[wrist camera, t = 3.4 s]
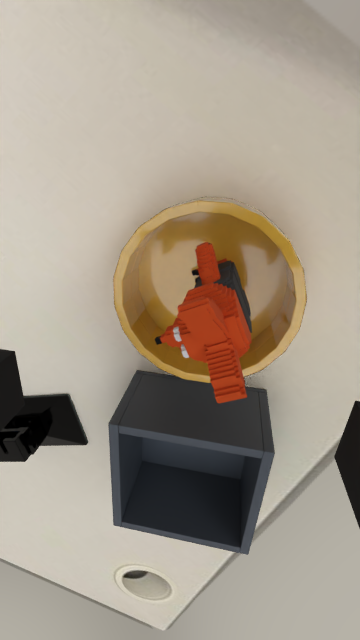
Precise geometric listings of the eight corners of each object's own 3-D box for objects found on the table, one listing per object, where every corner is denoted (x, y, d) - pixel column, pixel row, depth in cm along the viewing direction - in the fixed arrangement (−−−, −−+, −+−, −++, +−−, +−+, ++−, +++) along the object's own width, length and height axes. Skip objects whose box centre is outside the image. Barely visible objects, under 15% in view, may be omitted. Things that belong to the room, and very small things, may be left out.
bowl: (313, 204, 22) (329, 210, 18) (277, 363, 28) (283, 394, 24) (131, 190, 24) (109, 193, 20) (132, 343, 30) (115, 369, 26)
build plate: (69, 392, 34) (46, 423, 30) (89, 443, 37) (70, 478, 32) (-25, 399, 37) (-59, 427, 32) (0, 445, 39) (-28, 477, 35)
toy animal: (160, 251, 25) (101, 306, 14) (225, 225, 23) (212, 266, 13) (196, 335, 28) (169, 436, 17) (257, 317, 26) (269, 417, 15)
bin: (266, 389, 29) (275, 453, 22) (246, 481, 35) (248, 555, 28) (136, 370, 31) (108, 423, 24) (136, 460, 36) (113, 525, 29)
